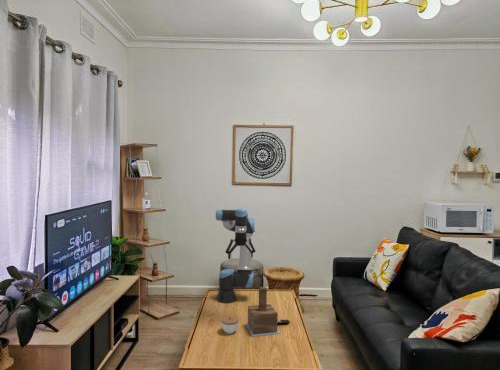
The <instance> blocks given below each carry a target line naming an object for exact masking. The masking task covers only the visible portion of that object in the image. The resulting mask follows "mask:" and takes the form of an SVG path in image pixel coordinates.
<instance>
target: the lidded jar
mask: <svg viewBox="0 0 500 370" xmlns="http://www.w3.org/2000/svg"><path fill="white" fill-rule="evenodd" d="M220 320H221V329H222V330H223V331H224V333H226V334H234V333H235V332H236V331H237V329H238V327H239V318H238V317H236V316H233V315H227V316H224V317H222V318H221V319H220Z"/></svg>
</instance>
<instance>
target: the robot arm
mask: <svg viewBox="0 0 500 370" xmlns="http://www.w3.org/2000/svg"><path fill="white" fill-rule="evenodd" d="M248 216H249V214H248V211H247V209H246V208H236V209H216V211H215V221H219V222H220V221H221V223H222V226H223V228H225V229H226V230H228V231H231V232H234V239H232V238H231V239H230V241H229V244H228V246H227V248H226V250H225V254H227V258H228V260H229V264H230V265H232V259H233V258H232V253H233V252H234V250H235V249H236V248H237V247H239V261H238V262H239V266H238V268H237V269H236V271H235V269H234V268H226V269H222V270H221V271H219V273H218V274H219V277H218V278H219V279H218V280H219V281H218V289H219V290H218V293H217V295H216V301H217V302H219V303H221V304H222V303H223V304H230V303H234V302H236V301H237V295H236V291H235V288H251V287H252V286H253V282H254V276H255V275H254V271H253V269H252V268H251V264H252V259H253V258H254V257H253V255H254V253H256V249H255V247H254V246H253V243H252V236H253V235H254V233H255V232H256V231H255V229H256V228H255V220H254V218H253V217H248ZM233 243H234V244H233Z"/></svg>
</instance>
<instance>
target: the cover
mask: <svg viewBox="0 0 500 370" xmlns="http://www.w3.org/2000/svg"><path fill="white" fill-rule="evenodd" d="M267 290H268V288H266V286H260V287H258V304H257V305H248V306H247V323H248V325H249V327H250V329H251V331H252V332H253V334H254V335H255V334H264V333H274V332H277V329H278V316H279V315H278V312H277V311H276V310H275V308H274V307H273V306H272V304H267V296H268V294H267V293H268V291H267Z"/></svg>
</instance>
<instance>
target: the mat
mask: <svg viewBox="0 0 500 370" xmlns="http://www.w3.org/2000/svg"><path fill="white" fill-rule="evenodd" d="M244 325H245V326H246V328H247V330H248V332H249V333H250V336H251V337H252V338H253V337H254V338H255V337H264V336H265V337H266V336H272V335H273V336H274V335H281V332H280V330H279V329H278V328H277V332H274V333H264V334H255V335H254V334H253V332H252V331H251V329H250V327H249V325H248V322H245V324H244Z"/></svg>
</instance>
